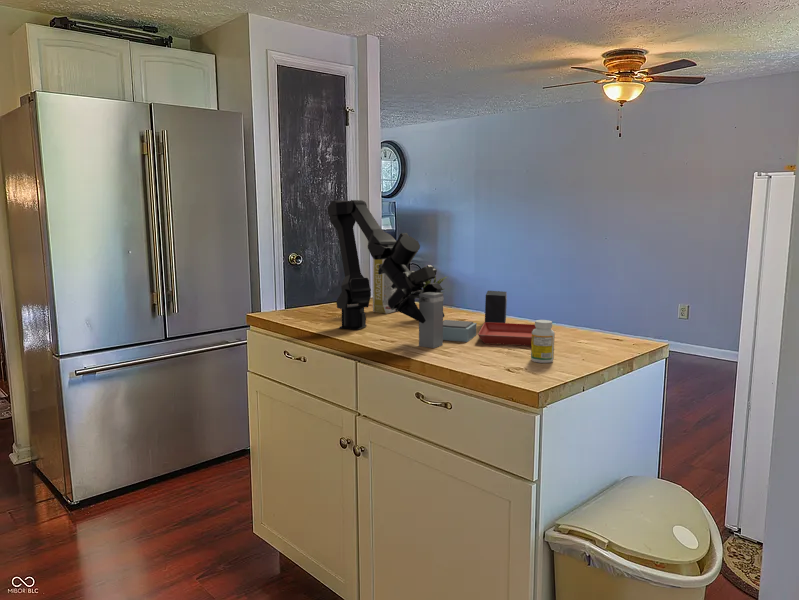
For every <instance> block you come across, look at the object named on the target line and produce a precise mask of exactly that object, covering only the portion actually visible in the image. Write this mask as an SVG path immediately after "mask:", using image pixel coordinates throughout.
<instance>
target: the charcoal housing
mask: <svg viewBox="0 0 799 600" xmlns="http://www.w3.org/2000/svg"><path fill="white" fill-rule="evenodd" d="M444 300H445V299H444V292H443V293H435V292H426V293H421V294H419V298H418V308H419V310H420V312H421V313H422V315H423V316H424V318H425V320H426V321H425V322H424V323H421V322H419V321H418V347H423V348H429V349H435V348H438V347H441V346H443V345H444V343H443V342H444V340H443V321H444V317H443V313H444Z"/></svg>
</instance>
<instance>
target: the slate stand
mask: <svg viewBox="0 0 799 600" xmlns="http://www.w3.org/2000/svg"><path fill="white" fill-rule="evenodd" d="M477 329H478V327H477V322H474V321H468V320H467V321H466V320H453V319H443V341H451V342H452V341H454V342H464V343H465V342H466V343H467V342H470V341H471V340H472V339H473V338H474V337H476V336H477Z"/></svg>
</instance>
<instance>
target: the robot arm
mask: <svg viewBox="0 0 799 600" xmlns="http://www.w3.org/2000/svg"><path fill="white" fill-rule="evenodd" d="M327 214H328V217H329V221H330V224H331V225H332V226H333V228H335V230H336V231H337V237H338V242H339V249H340V253H341V254H340V255H341V261H342V266H343V273H344V278H343V281H342V283H341V286H340V288H341V293H340V294H339V296H338V298H337V299H336V308H337V309H340V310H341V325H340V326H339V329H341V330H343V329H344V330H345V329H346V330H360V329H363V328H366V327H367V324H366V321H367V319H366V317H367V315H366V314H367V313H366V312H365V308H369V306H370V301H371V297H372V296H371V295H372V292H371V291H372V289H371V286H370V280H369V278H368V277H365V276H364V275H363V274H362V272H361V265H360V260H359V254H358V253H359V252H358V248H357V242H356V237H355V231H354V226H355V224H357V225H358V227H359V228H360V230H361V232H362V233H363V235H364V236H365V237H366V239H367V249H368V252H369V254H370V256H371V257H372V260H373V259H375V260H380V259H385V260H384V262H383V264H380V265H379V270H378V274H379V275H380V274H383V273H385V274H386V275H387V276H388V278H389V279H390V280H391V282H392V283H393V285H392V286H391V287H392V288H393V289H396V288H397V290H396V291H395V292H394V293H393V294H392V296H391V297H390V298H389V299H388V306H389V307H390V308H391V310H395V309H396V312H400V313H401V314H403V315H405V316H407V317H410V318H411V319H412V320H414V321H417V322H418V323H419V322H421V323H424V322H425V321H426V320H425V318H424V316H423V315H422V313H421V312H420V310H419V306H418V305H417V304H416V299H419V294H421V293H426V292H435V293H441V292H442V291H443V290H442V289H443V287H442V286H441V284H439V283H436V282H435V283H433V282H431V283H430V284H427V285H426V283H425V282H426V281H428V280H430V279H433V280H434V279H435V278H436V279H437V276H436V275H437V269H436V268H435V267H434V266H433V265H431V264H427V265H426V266H424V267H422V268H420V269H417V270H410V269H409V268H408V267H407V266H408V265H409V264H410V263H411V262H412V261H413V259H414V258H415V256H416V255H417V254H418V252H419V250H420V248H421V245H420V242H419V241H418V240H417V239H416V238H414V237H412V236H409V235H408V233H407V232H404V233H403V232H401V233H400V234H399V236H398V238H397V240H396V239H395V238H394V236H392V235H391V234H390V233H387V232H386V231H384V230H383V228H381V226H380V225H379V223H378V221H377V220H376V218H375V217H374V216H373V214H372V213H371V211H370V210H369V208H368V206H367V202H366V201H364V200H362V199H350V200H332V201H330V204H328V205H327ZM425 285H426V286H425ZM424 286H425V288H424V289H423V288H422V287H424ZM443 318H445V312H443Z"/></svg>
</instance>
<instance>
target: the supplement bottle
mask: <svg viewBox="0 0 799 600" xmlns="http://www.w3.org/2000/svg"><path fill="white" fill-rule="evenodd" d="M534 325H535V327H536V329H534V330H533V331H532V340H531V346H530V349H531V350H530V360H531V361H532V362H534V363H537V364H550V363H553V361H554V357H555V338H556V337H555V335H556V334H555V331H554V330H553V329H552V328H553V321H552V320H548V319H536V320H535V321H534Z"/></svg>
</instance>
